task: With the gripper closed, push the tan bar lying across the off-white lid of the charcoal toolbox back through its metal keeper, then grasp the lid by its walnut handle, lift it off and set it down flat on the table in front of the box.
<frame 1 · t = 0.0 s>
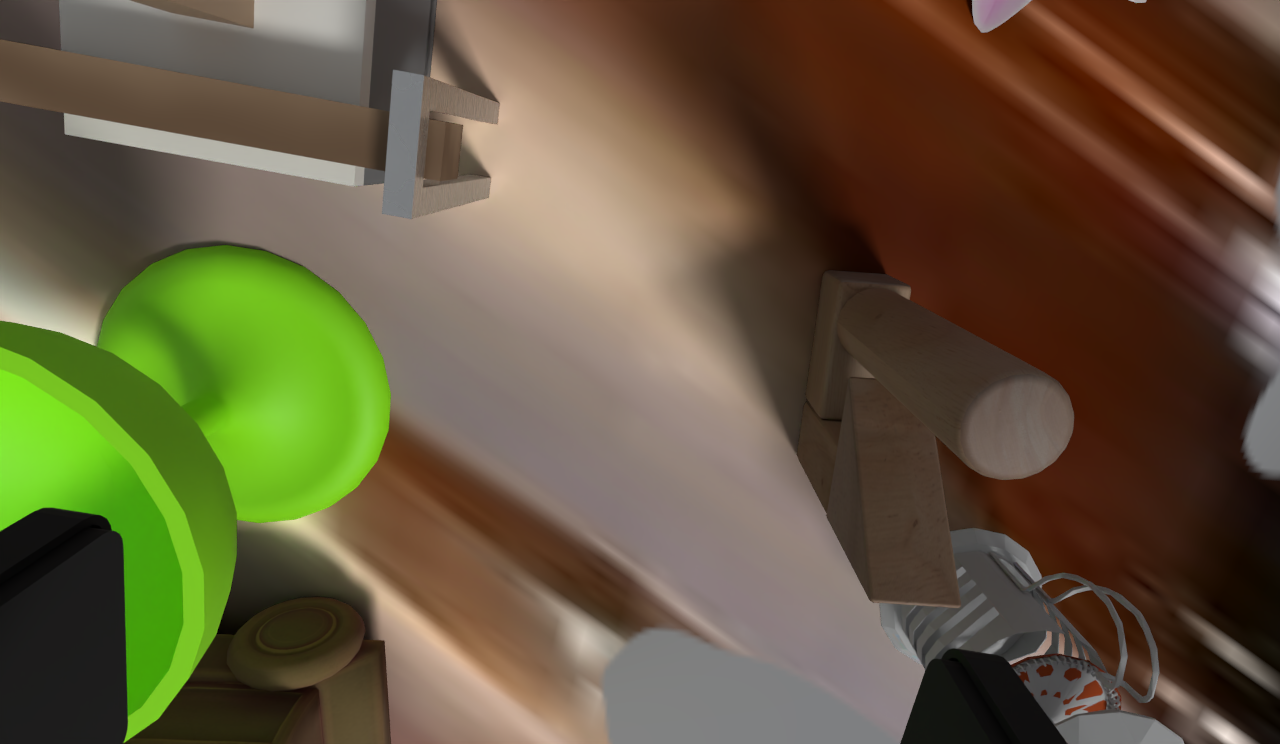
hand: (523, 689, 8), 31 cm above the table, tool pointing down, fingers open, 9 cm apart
tan bar: (229, 111, 26), point 11 cm above the table, slide at 0.0 cm
wineglass: (247, 390, 40), on the table
french press: (967, 587, 44), on the table
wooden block: (839, 368, 40), on the table
wooden toy train: (240, 660, 46), on the table
toolbox: (319, 8, 35), on the table
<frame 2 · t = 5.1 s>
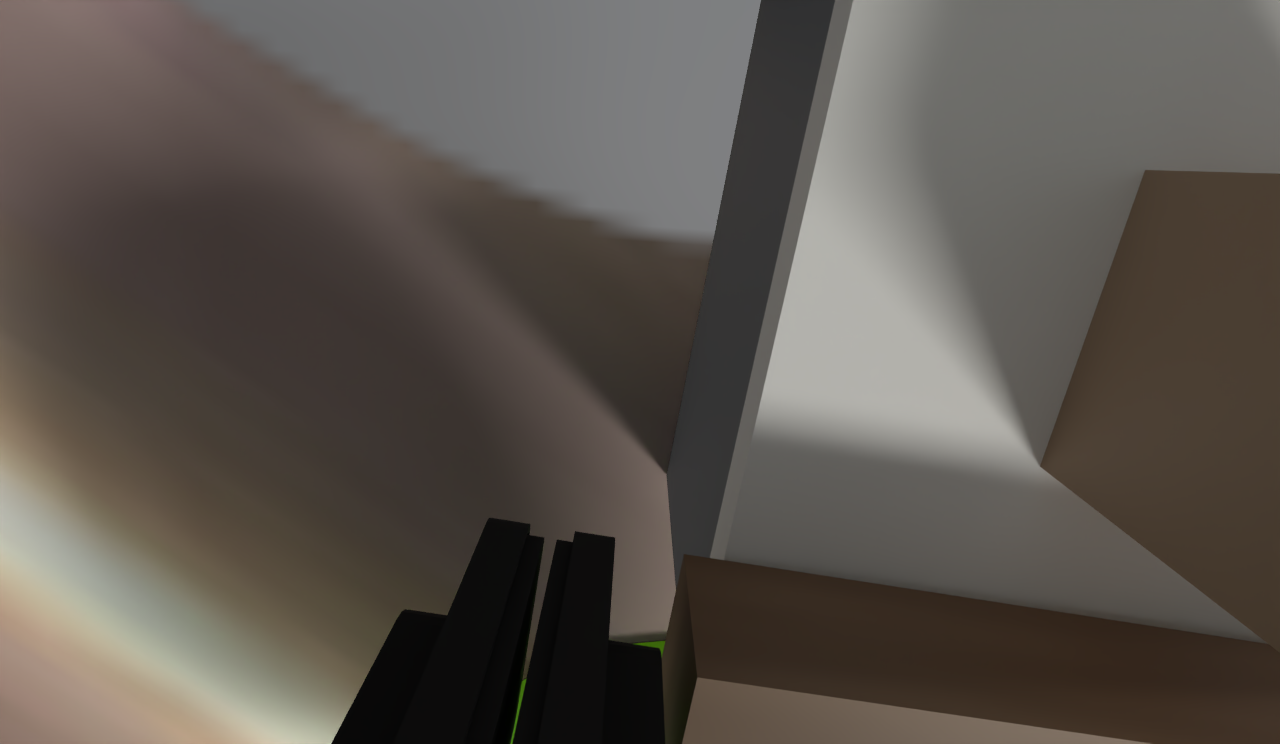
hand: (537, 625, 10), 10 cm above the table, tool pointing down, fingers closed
toolbox: (934, 256, 18), on the table
lid: (1105, 314, 12), point 7 cm above the table, touching toolbox
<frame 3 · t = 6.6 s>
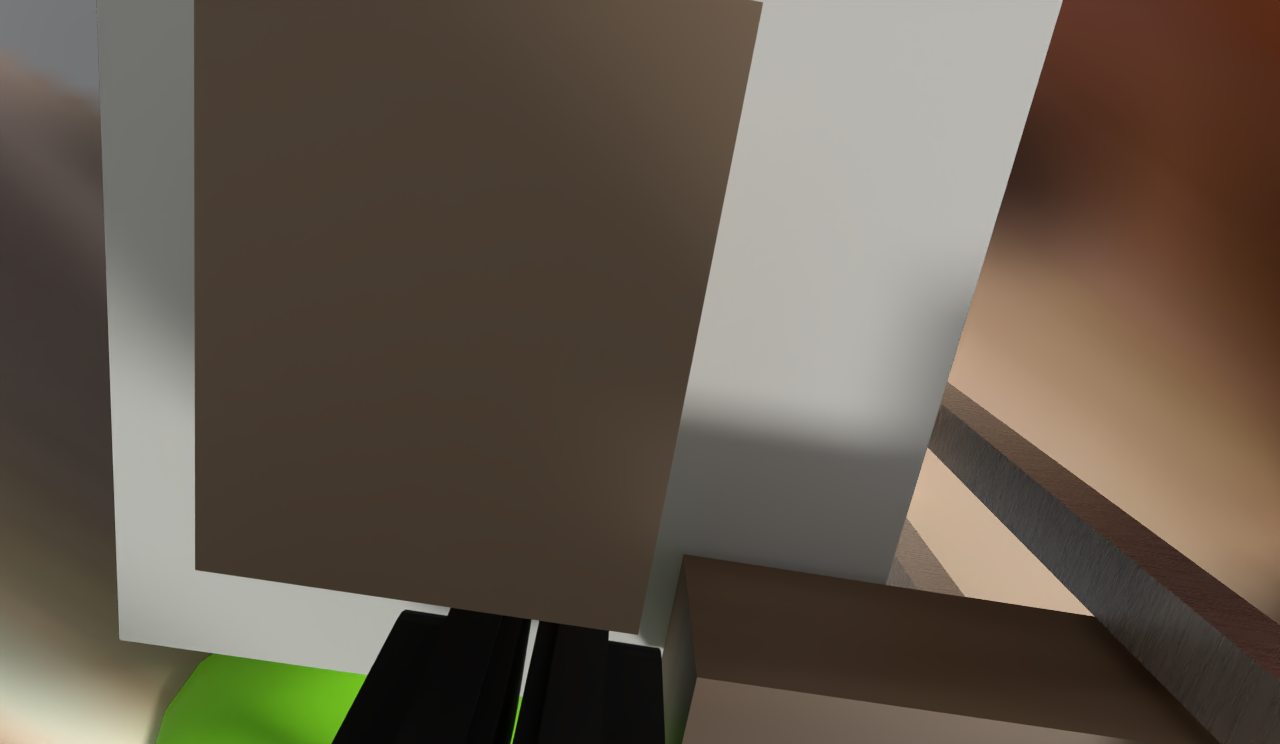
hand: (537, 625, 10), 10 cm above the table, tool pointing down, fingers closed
toolbox: (592, 196, 18), on the table
lid: (564, 220, 11), point 7 cm above the table, touching toolbox
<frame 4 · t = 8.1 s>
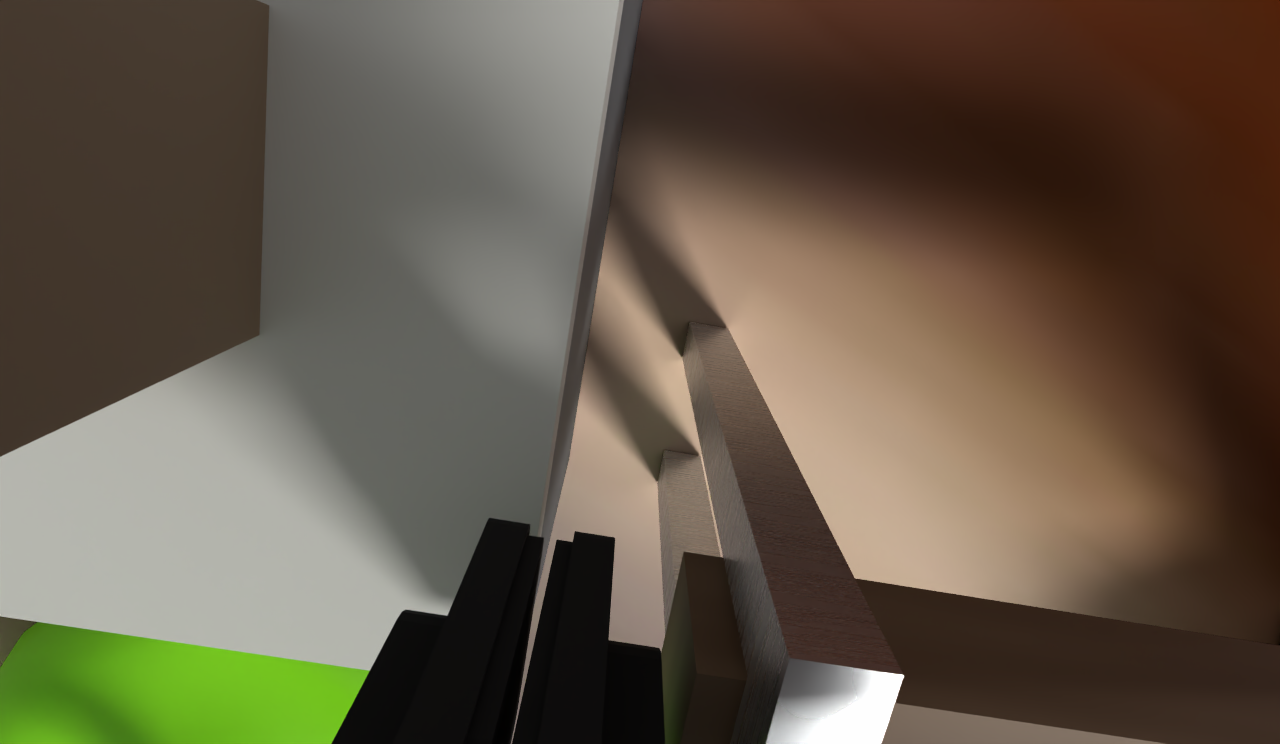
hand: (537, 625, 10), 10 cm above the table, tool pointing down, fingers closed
toolbox: (385, 157, 18), on the table
lid: (228, 158, 11), point 7 cm above the table, touching toolbox
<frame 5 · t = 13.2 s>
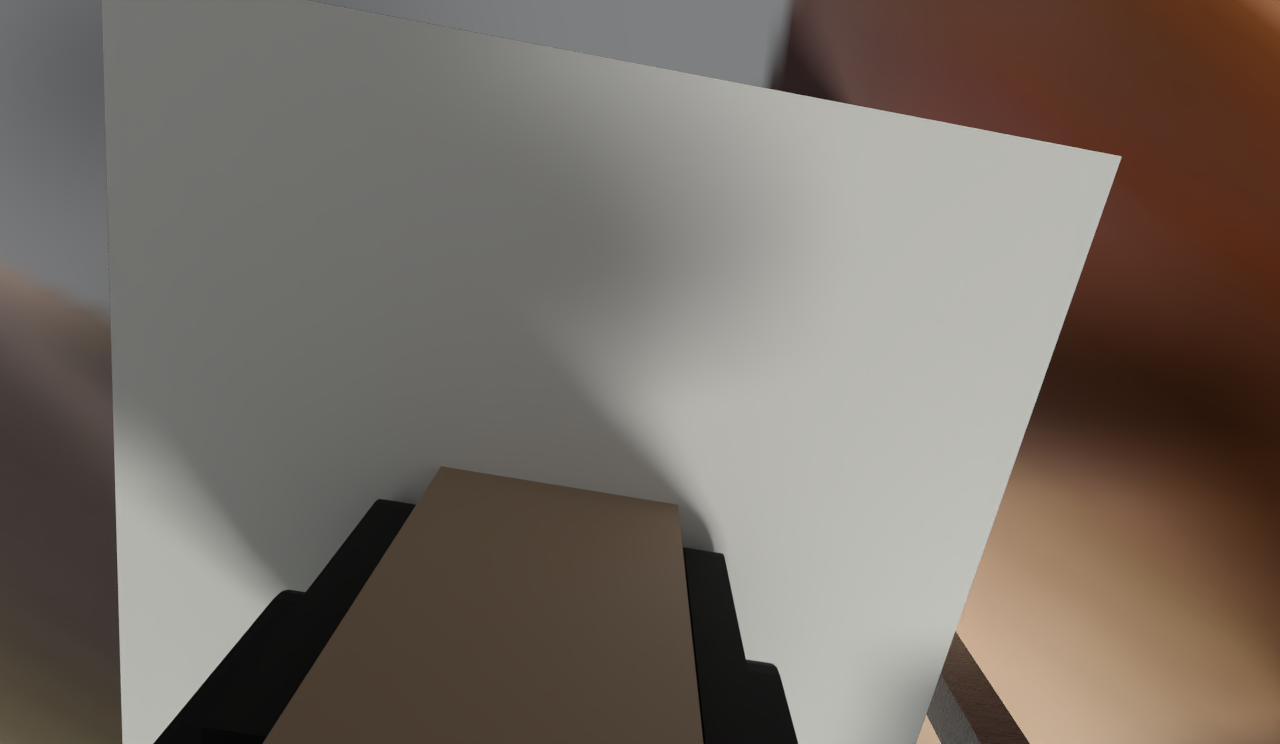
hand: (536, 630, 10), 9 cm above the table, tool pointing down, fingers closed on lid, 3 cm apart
toolbox: (586, 402, 18), on the table
lid: (555, 544, 12), point 7 cm above the table, touching gripper, toolbox
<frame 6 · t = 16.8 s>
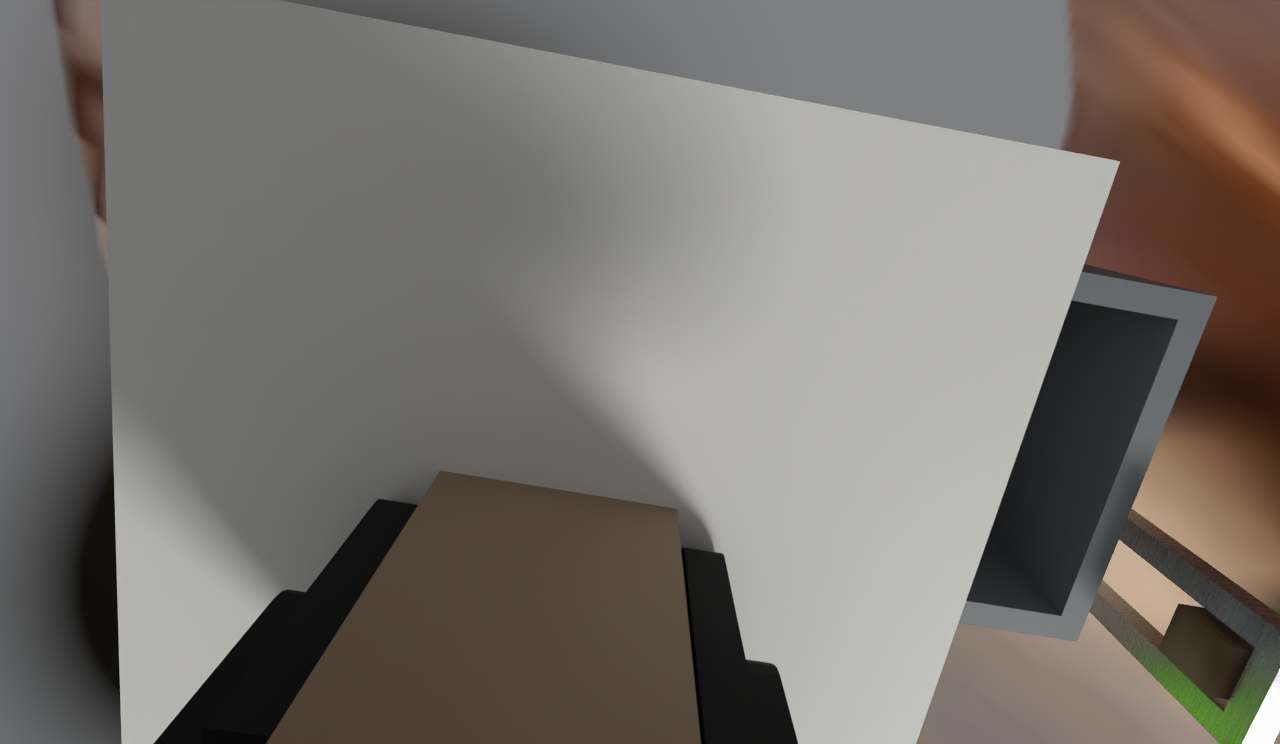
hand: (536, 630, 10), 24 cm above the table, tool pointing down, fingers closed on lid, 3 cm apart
toolbox: (918, 389, 34), on the table
lid: (554, 547, 12), point 22 cm above the table, touching gripper
when the fingers open (4 cm above the table, at t = 20.8 s): lid drops 2 cm, on the table.
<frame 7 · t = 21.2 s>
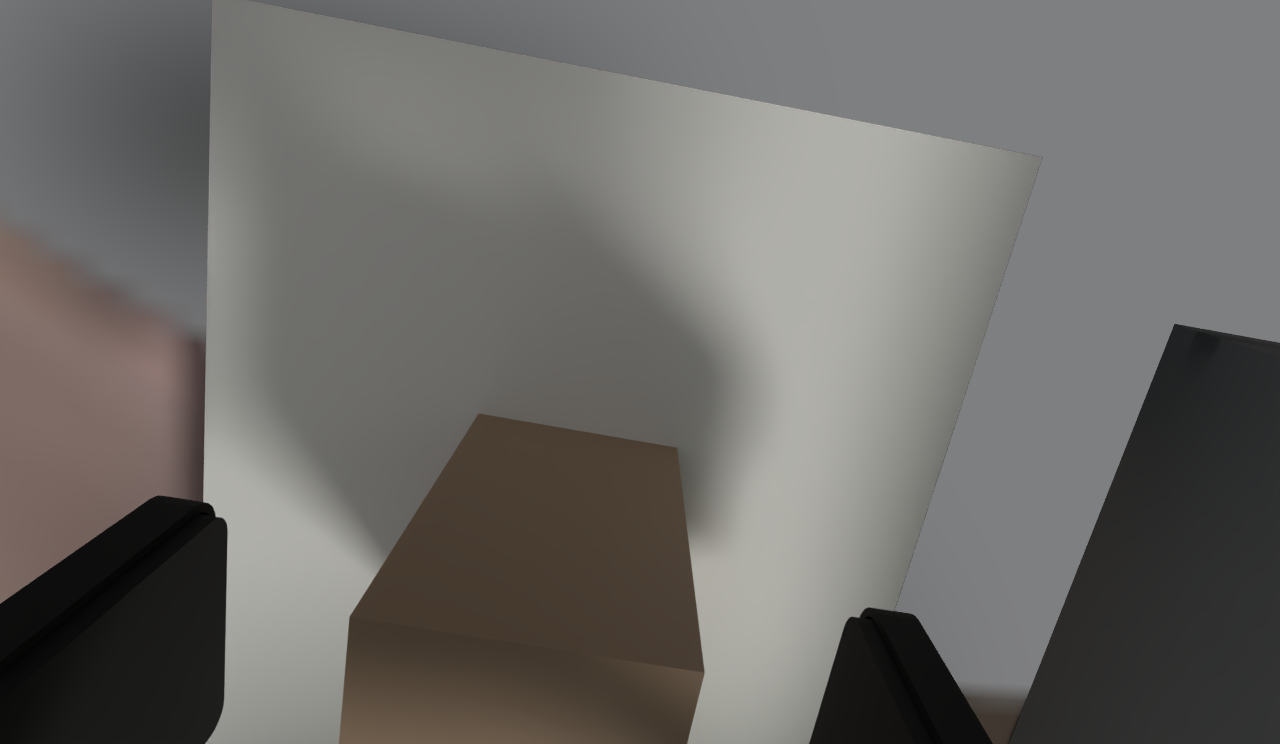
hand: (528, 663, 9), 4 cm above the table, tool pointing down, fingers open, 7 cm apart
lid: (570, 492, 13), on the table
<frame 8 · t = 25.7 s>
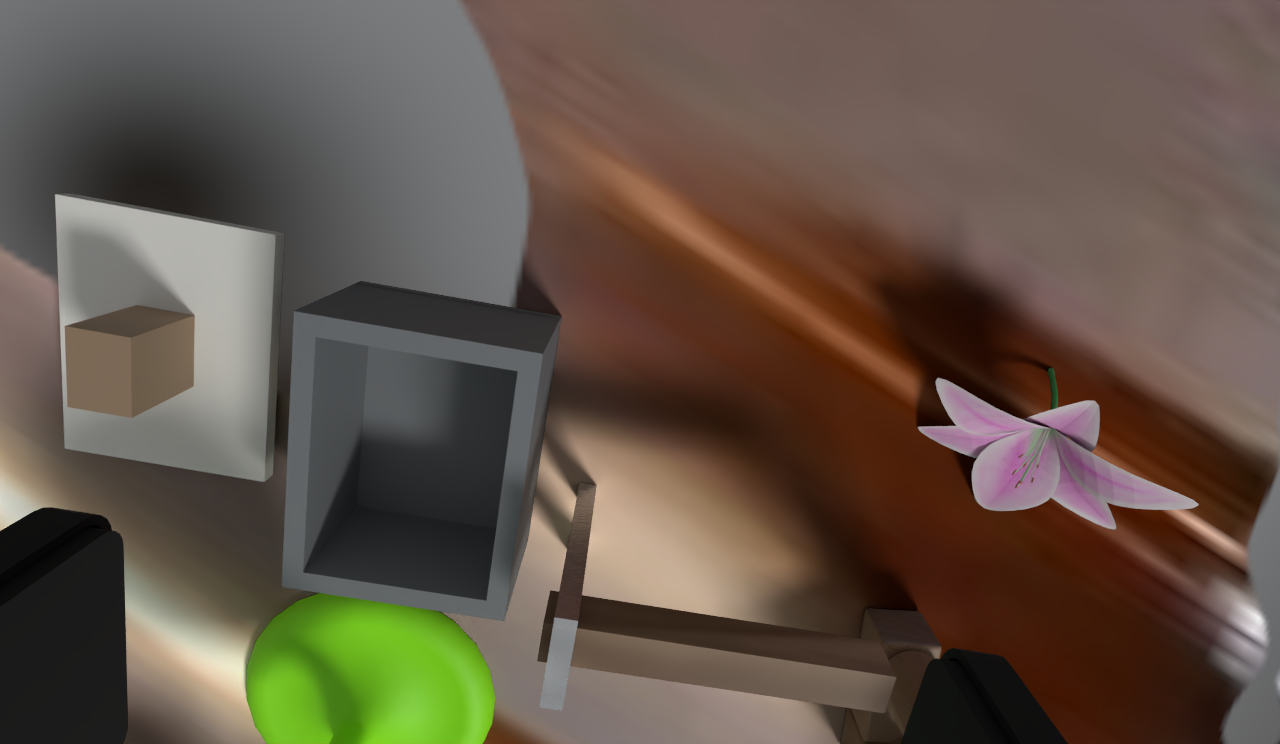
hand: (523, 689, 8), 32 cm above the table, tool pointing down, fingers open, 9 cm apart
lily: (991, 420, 42), on the table
tan bar: (714, 650, 34), point 11 cm above the table, slide at 14.1 cm
wineglass: (372, 692, 47), on the table
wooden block: (877, 677, 47), on the table
toolbox: (448, 417, 42), on the table
lid: (187, 337, 41), on the table
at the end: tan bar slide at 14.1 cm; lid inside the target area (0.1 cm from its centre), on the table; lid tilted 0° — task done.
